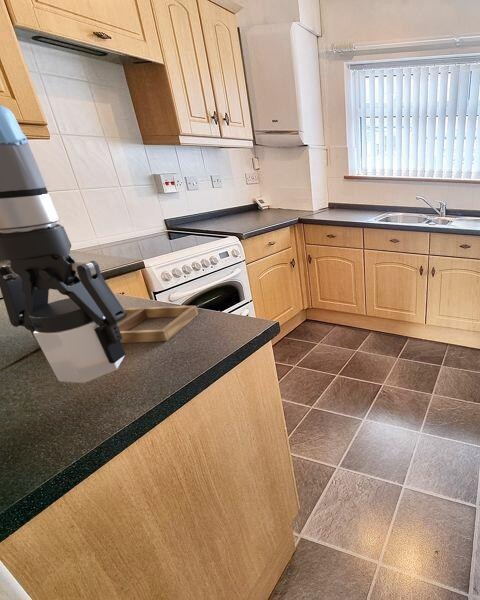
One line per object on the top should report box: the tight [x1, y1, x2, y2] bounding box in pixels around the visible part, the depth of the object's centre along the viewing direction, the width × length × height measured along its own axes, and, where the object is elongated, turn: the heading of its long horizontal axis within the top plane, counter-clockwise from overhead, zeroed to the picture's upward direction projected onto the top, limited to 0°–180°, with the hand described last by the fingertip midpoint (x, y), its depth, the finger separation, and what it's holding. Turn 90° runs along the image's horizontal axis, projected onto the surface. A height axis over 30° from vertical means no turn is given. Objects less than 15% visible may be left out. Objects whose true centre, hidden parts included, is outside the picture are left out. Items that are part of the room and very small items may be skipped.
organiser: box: [117, 305, 199, 344], centre depth 80 cm, size 26×14×2 cm, turn 91°
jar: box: [29, 297, 125, 384], centre depth 55 cm, size 9×8×12 cm
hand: (89, 359), depth 57 cm, fingers closed on jar, 9 cm apart
